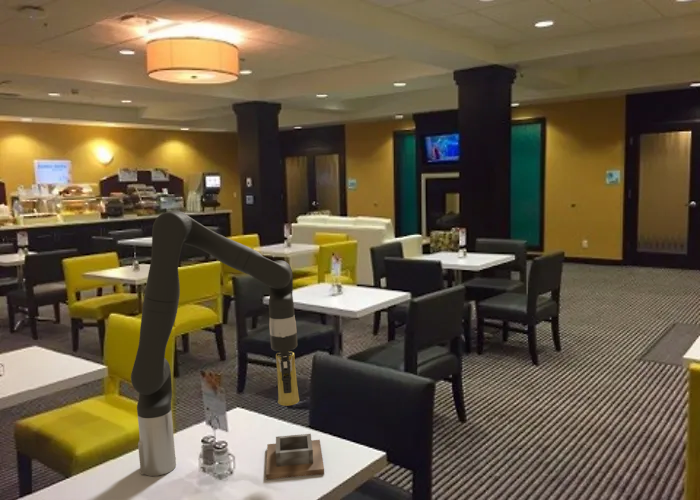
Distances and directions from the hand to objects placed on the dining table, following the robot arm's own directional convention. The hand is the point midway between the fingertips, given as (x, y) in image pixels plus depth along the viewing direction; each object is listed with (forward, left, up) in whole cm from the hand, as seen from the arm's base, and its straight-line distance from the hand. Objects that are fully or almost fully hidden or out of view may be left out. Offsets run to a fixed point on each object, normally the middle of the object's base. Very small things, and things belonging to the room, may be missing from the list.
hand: (287, 388), depth 168 cm
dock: (+1, 0, -22) cm, 22 cm away
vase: (0, 0, -4) cm, 4 cm away
